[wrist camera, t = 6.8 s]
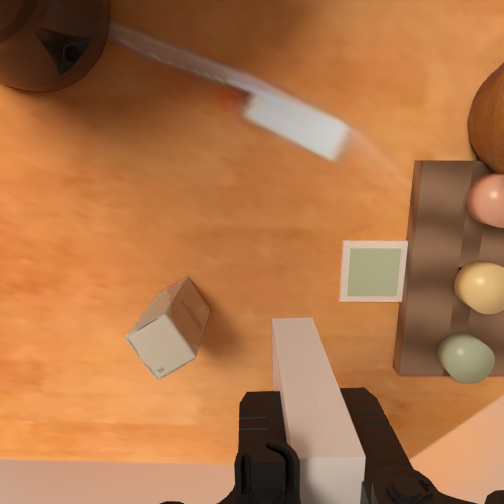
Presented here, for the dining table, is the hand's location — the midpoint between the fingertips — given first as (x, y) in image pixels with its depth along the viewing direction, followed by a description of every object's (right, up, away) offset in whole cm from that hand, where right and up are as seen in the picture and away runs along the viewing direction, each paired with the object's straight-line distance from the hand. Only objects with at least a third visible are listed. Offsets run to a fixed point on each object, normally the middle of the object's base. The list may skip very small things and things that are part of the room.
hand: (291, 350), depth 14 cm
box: (-9, -2, +29) cm, 30 cm away
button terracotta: (+21, +9, +24) cm, 33 cm away
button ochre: (+21, +1, +26) cm, 34 cm away
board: (+21, +2, +28) cm, 35 cm away
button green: (+21, -7, +29) cm, 37 cm away
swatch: (+12, +2, +28) cm, 30 cm away
